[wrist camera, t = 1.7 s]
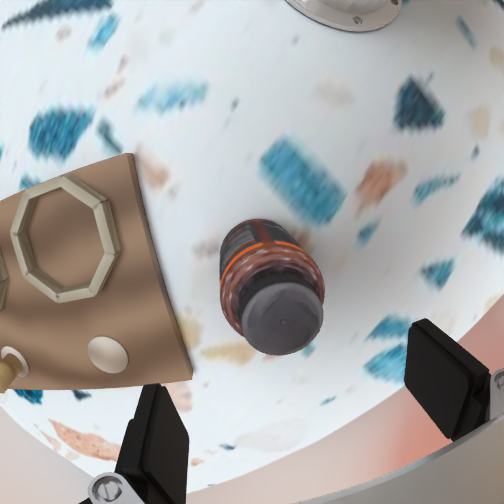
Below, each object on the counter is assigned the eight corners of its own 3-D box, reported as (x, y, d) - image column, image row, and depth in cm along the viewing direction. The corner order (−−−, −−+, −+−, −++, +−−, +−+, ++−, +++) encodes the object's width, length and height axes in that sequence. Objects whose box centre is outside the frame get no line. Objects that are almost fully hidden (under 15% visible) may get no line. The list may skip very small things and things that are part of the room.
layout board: (-54, 231, 21) (-88, 244, 15) (132, 153, 22) (104, 150, 16) (7, 381, 27) (-14, 409, 21) (193, 370, 27) (188, 413, 22)
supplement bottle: (209, 275, 25) (201, 355, 14) (234, 206, 24) (244, 241, 13) (276, 297, 26) (310, 381, 15) (304, 232, 25) (362, 283, 14)
